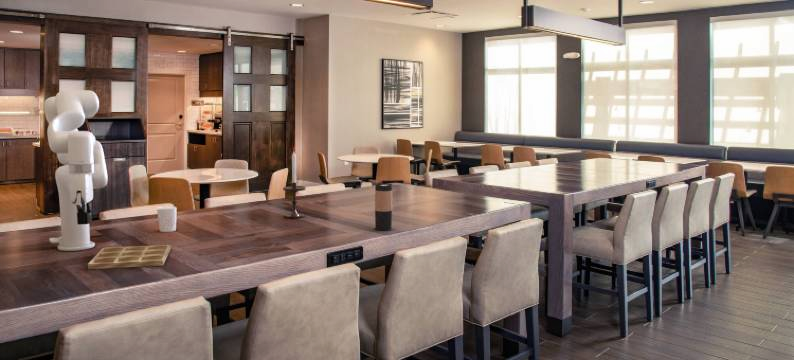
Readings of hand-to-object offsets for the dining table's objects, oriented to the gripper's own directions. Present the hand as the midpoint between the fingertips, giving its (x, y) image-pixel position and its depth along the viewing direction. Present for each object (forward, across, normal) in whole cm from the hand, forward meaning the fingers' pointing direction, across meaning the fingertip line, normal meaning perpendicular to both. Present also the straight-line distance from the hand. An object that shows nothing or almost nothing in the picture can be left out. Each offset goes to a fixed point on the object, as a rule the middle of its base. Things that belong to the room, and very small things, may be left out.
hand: (84, 222), depth 212 cm
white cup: (+14, -53, +20) cm, 58 cm away
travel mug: (+15, -40, +112) cm, 120 cm away
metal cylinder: (0, 0, 0) cm, 0 cm away
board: (+15, -5, +13) cm, 20 cm away
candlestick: (+14, -76, +75) cm, 108 cm away
